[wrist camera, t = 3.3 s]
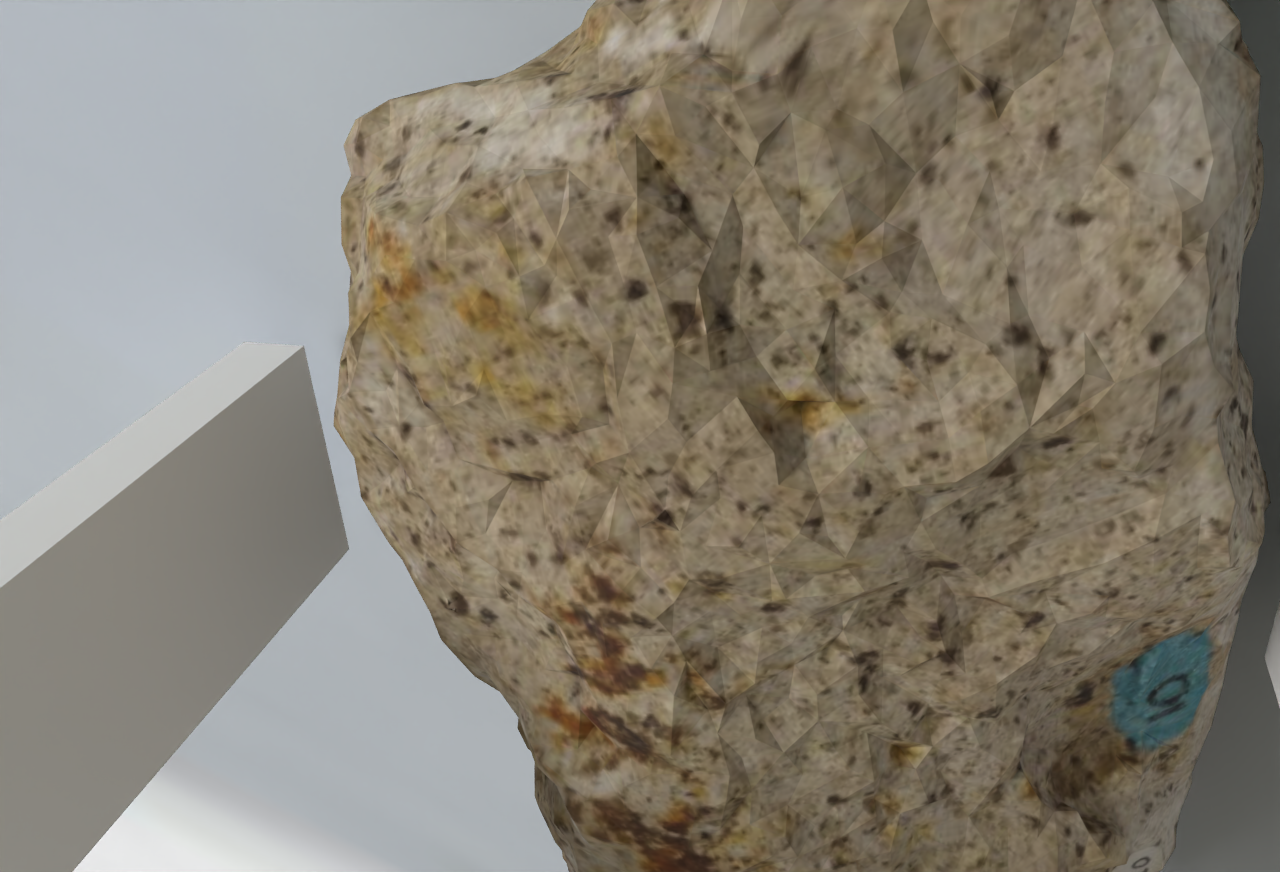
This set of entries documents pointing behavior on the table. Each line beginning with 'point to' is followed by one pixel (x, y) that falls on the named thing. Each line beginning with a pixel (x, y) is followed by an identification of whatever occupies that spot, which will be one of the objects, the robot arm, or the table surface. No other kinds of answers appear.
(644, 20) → the rock
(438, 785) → the table surface
